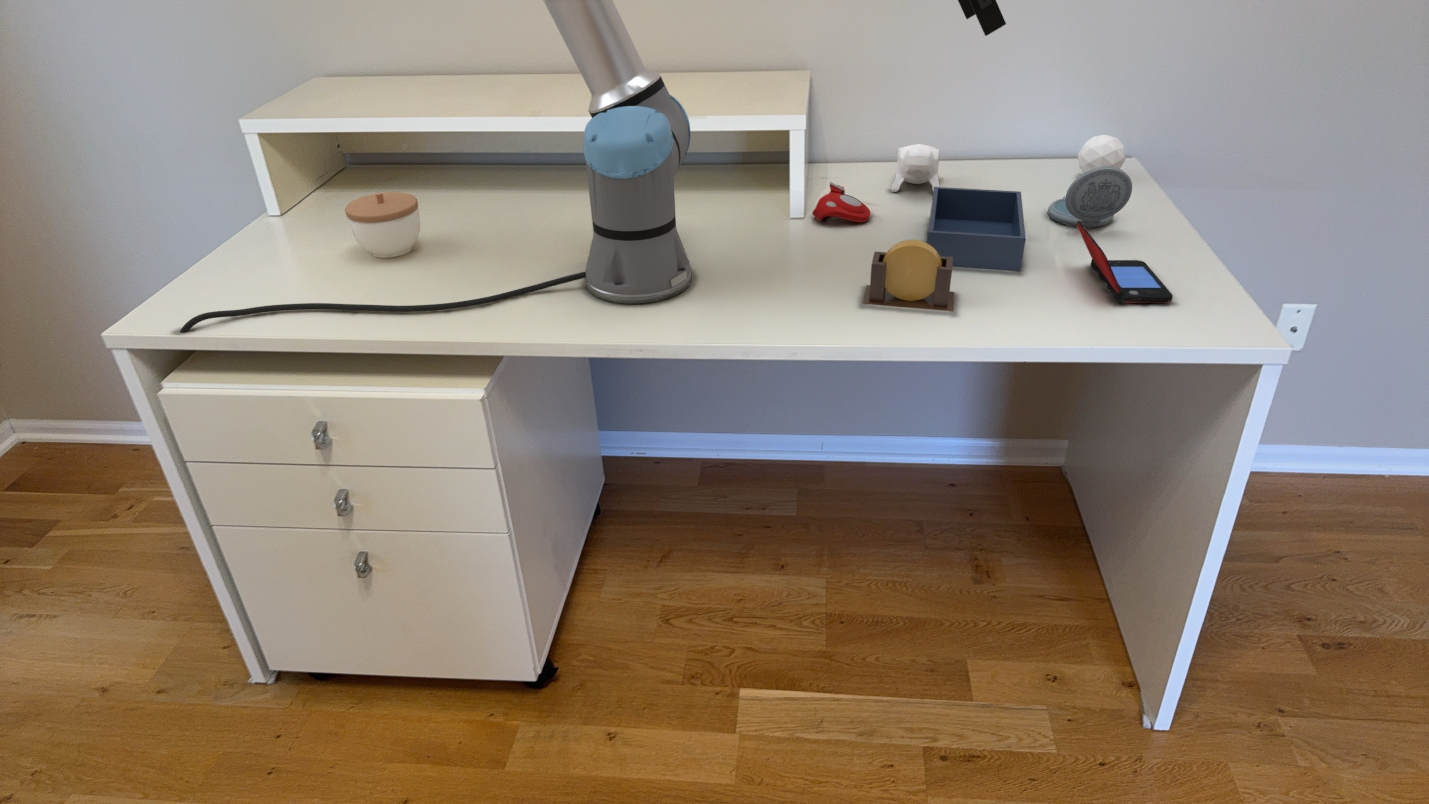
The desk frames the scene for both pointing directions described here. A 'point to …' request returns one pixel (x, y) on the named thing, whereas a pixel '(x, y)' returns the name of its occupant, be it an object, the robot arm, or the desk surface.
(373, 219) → the trinket box
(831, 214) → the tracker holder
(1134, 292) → the handheld console
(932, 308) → the holder
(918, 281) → the disc
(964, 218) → the bin
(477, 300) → the robot arm
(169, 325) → the desk surface
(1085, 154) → the geometric ball
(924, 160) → the white animal figurine
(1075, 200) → the pocket watch
